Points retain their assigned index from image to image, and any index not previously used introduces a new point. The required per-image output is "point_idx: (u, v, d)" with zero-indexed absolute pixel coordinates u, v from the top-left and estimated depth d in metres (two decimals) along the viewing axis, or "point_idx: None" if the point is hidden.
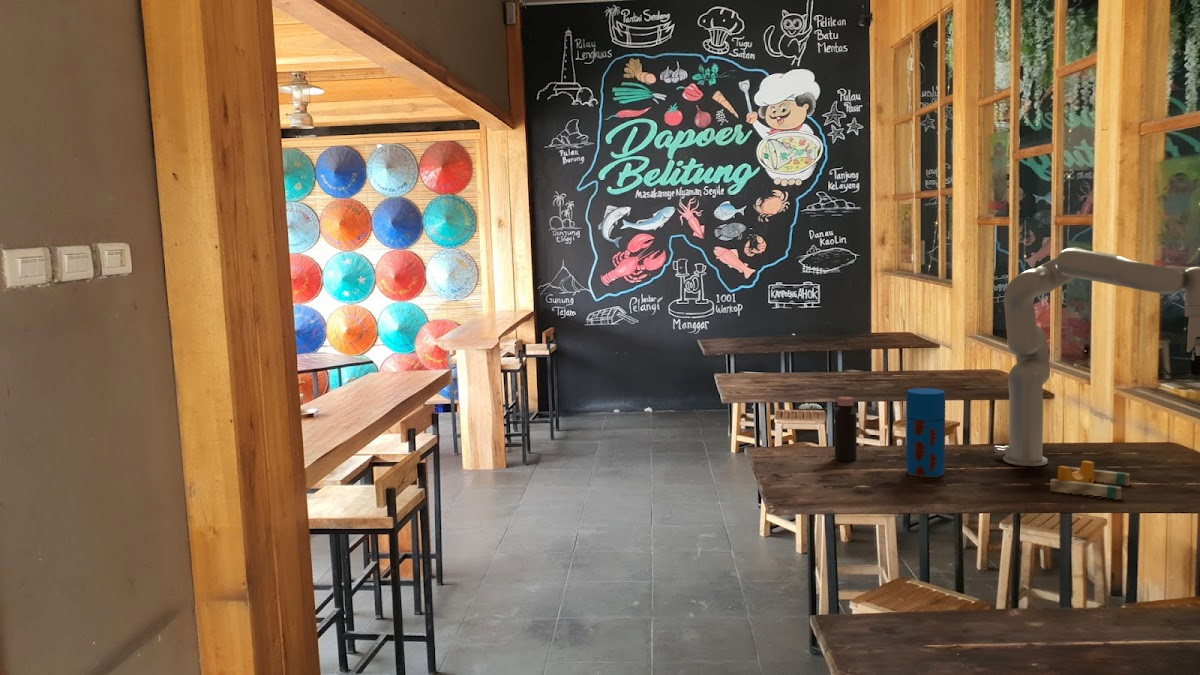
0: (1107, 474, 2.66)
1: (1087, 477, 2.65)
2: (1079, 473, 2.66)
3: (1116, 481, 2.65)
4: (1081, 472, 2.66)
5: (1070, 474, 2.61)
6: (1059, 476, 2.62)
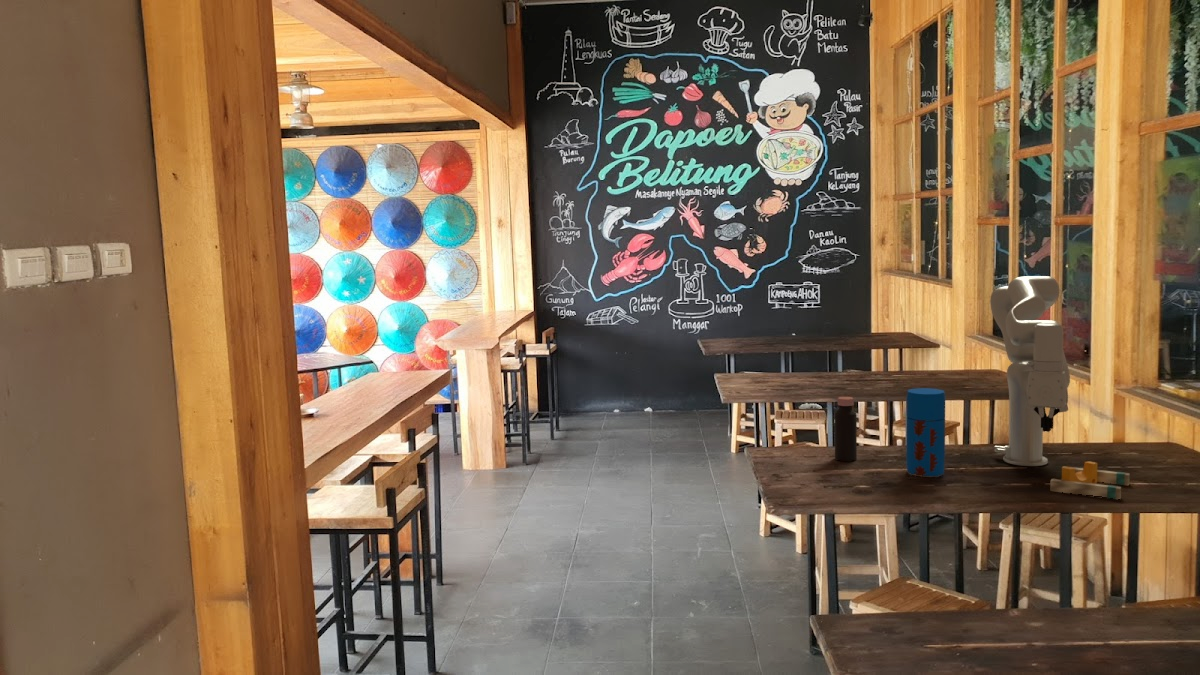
0: (1107, 474, 2.66)
1: (1090, 478, 2.64)
2: (1082, 474, 2.65)
3: (1116, 481, 2.65)
4: (1084, 472, 2.65)
5: (1074, 475, 2.60)
6: (1063, 477, 2.61)
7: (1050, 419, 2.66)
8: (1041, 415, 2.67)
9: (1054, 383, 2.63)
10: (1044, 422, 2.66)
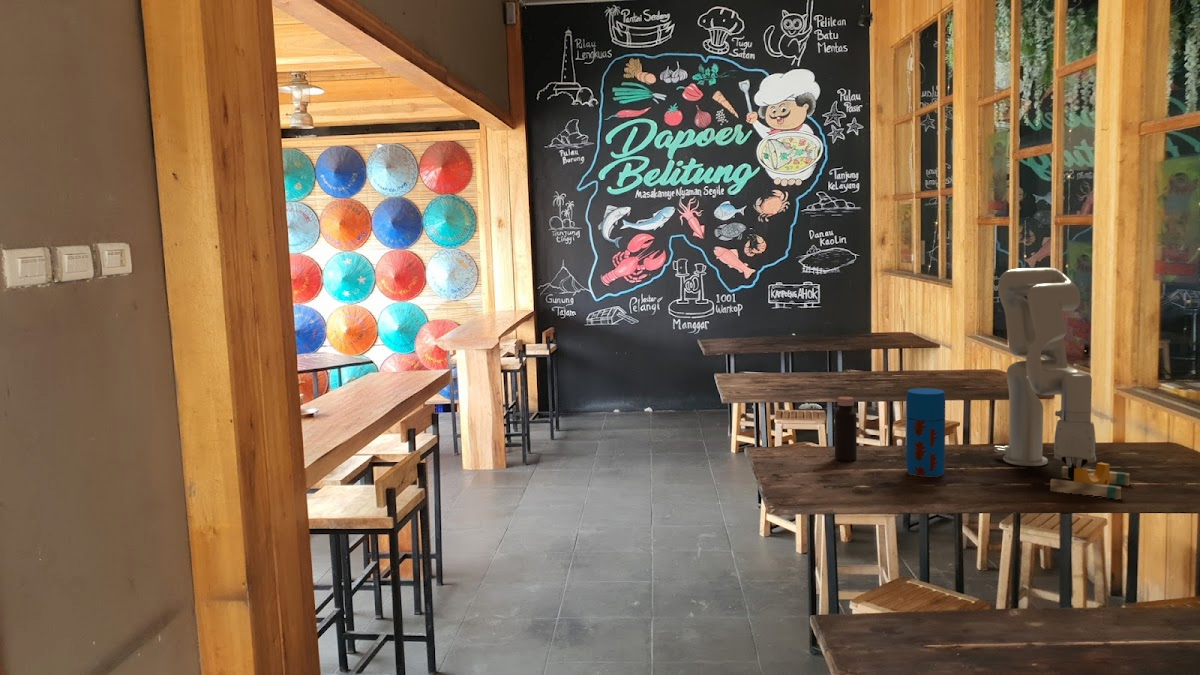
0: None
1: (1103, 479, 2.62)
2: (1094, 475, 2.63)
3: (1116, 481, 2.65)
4: (1097, 474, 2.63)
5: (1087, 476, 2.58)
6: (1075, 478, 2.59)
7: None
8: (1068, 465, 2.64)
9: (1082, 434, 2.60)
10: (1072, 472, 2.64)
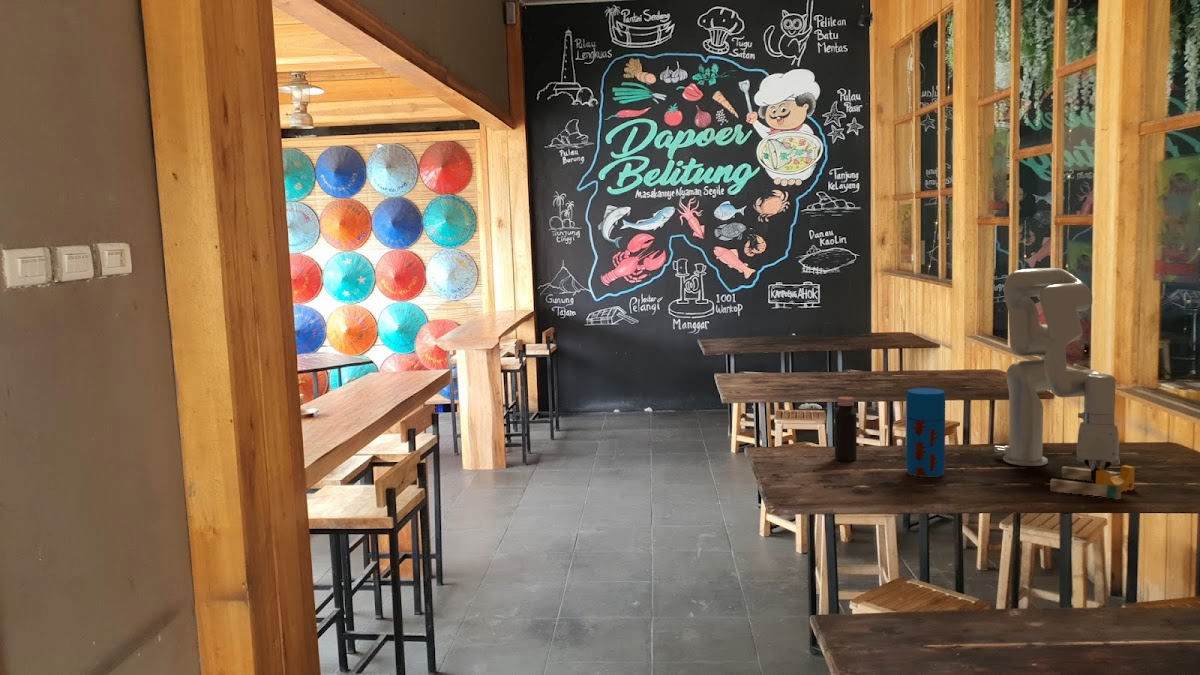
0: None
1: (1127, 482, 2.58)
2: (1119, 478, 2.60)
3: None
4: (1121, 477, 2.60)
5: (1109, 479, 2.55)
6: (1097, 481, 2.56)
7: None
8: (1092, 468, 2.61)
9: (1106, 436, 2.57)
10: (1095, 475, 2.60)
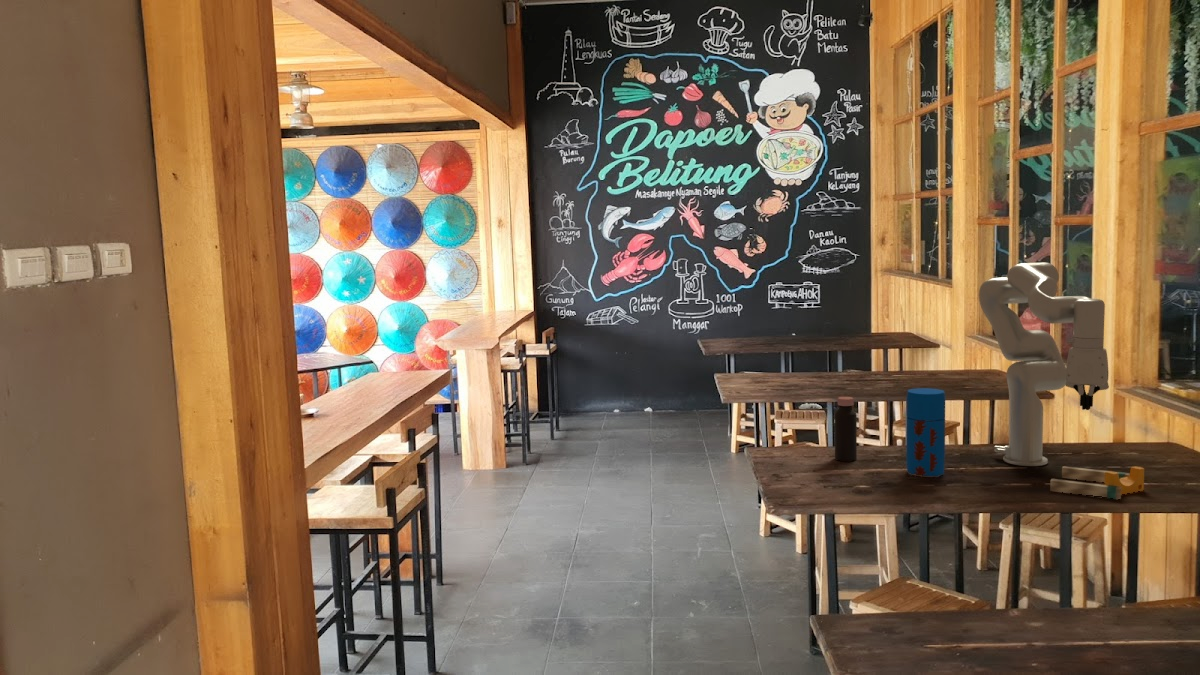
0: None
1: (1136, 483, 2.57)
2: (1128, 479, 2.58)
3: None
4: (1130, 478, 2.58)
5: (1118, 480, 2.54)
6: (1106, 482, 2.55)
7: (1090, 397, 2.60)
8: (1080, 393, 2.61)
9: (1095, 360, 2.57)
10: (1084, 400, 2.61)
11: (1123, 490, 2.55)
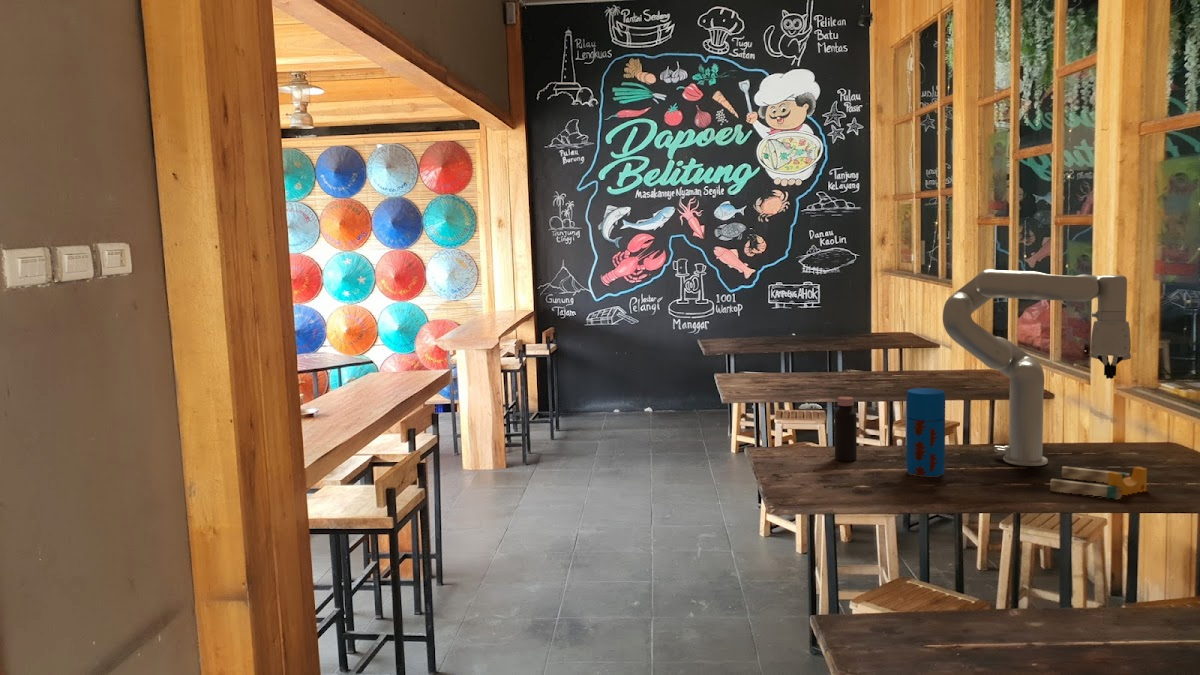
0: (1107, 474, 2.66)
1: (1139, 484, 2.57)
2: (1131, 479, 2.58)
3: None
4: (1133, 478, 2.58)
5: (1121, 480, 2.53)
6: (1109, 482, 2.54)
7: (1113, 367, 2.79)
8: (1105, 363, 2.80)
9: (1118, 332, 2.76)
10: (1107, 370, 2.79)
11: (1126, 490, 2.55)
